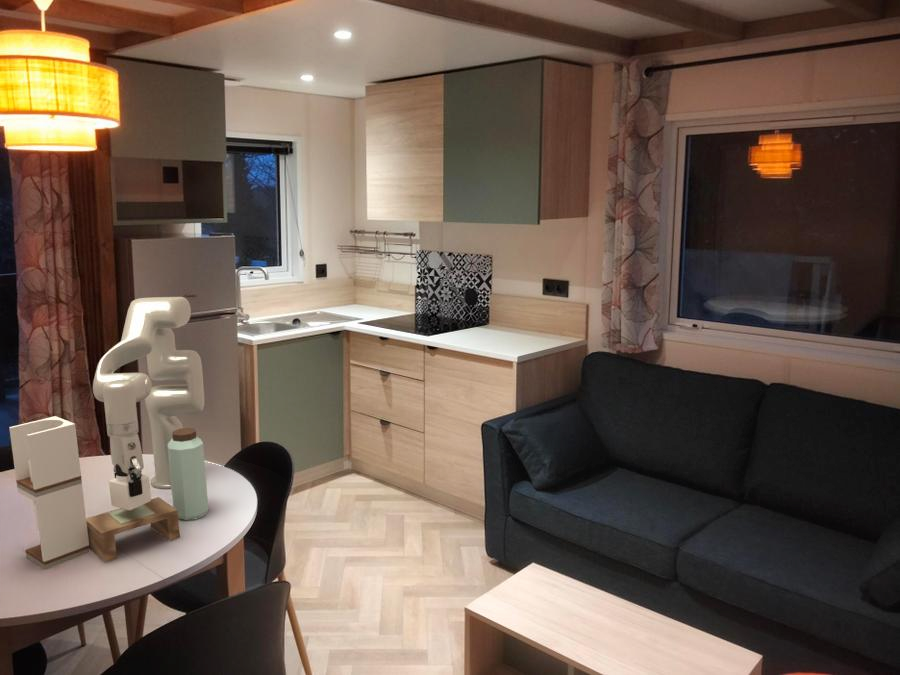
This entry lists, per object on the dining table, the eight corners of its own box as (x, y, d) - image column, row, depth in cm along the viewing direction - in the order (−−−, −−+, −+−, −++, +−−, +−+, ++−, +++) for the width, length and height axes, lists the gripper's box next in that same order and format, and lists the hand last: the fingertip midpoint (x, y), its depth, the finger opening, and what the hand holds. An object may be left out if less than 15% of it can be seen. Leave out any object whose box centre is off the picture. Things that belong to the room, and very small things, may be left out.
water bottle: (216, 513, 230) (209, 430, 225) (184, 524, 223) (176, 439, 218) (198, 504, 237) (191, 423, 232) (166, 514, 230) (158, 432, 224)
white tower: (70, 541, 214) (55, 416, 207) (89, 552, 207) (75, 423, 200) (26, 557, 205) (9, 427, 198) (45, 569, 199) (28, 435, 192)
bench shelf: (161, 523, 224) (158, 496, 222) (180, 537, 215) (177, 508, 214) (87, 547, 210) (84, 517, 209) (104, 562, 202) (101, 532, 200)
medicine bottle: (151, 501, 212) (147, 458, 210) (129, 511, 206) (125, 467, 204) (133, 496, 216) (129, 454, 213) (111, 506, 209) (106, 462, 207)
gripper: (150, 431, 203) (156, 495, 206) (123, 417, 215) (130, 478, 218) (121, 438, 198) (128, 504, 201) (95, 423, 210) (102, 485, 213)
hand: (129, 490), depth 210 cm, fingers closed on medicine bottle, 8 cm apart
